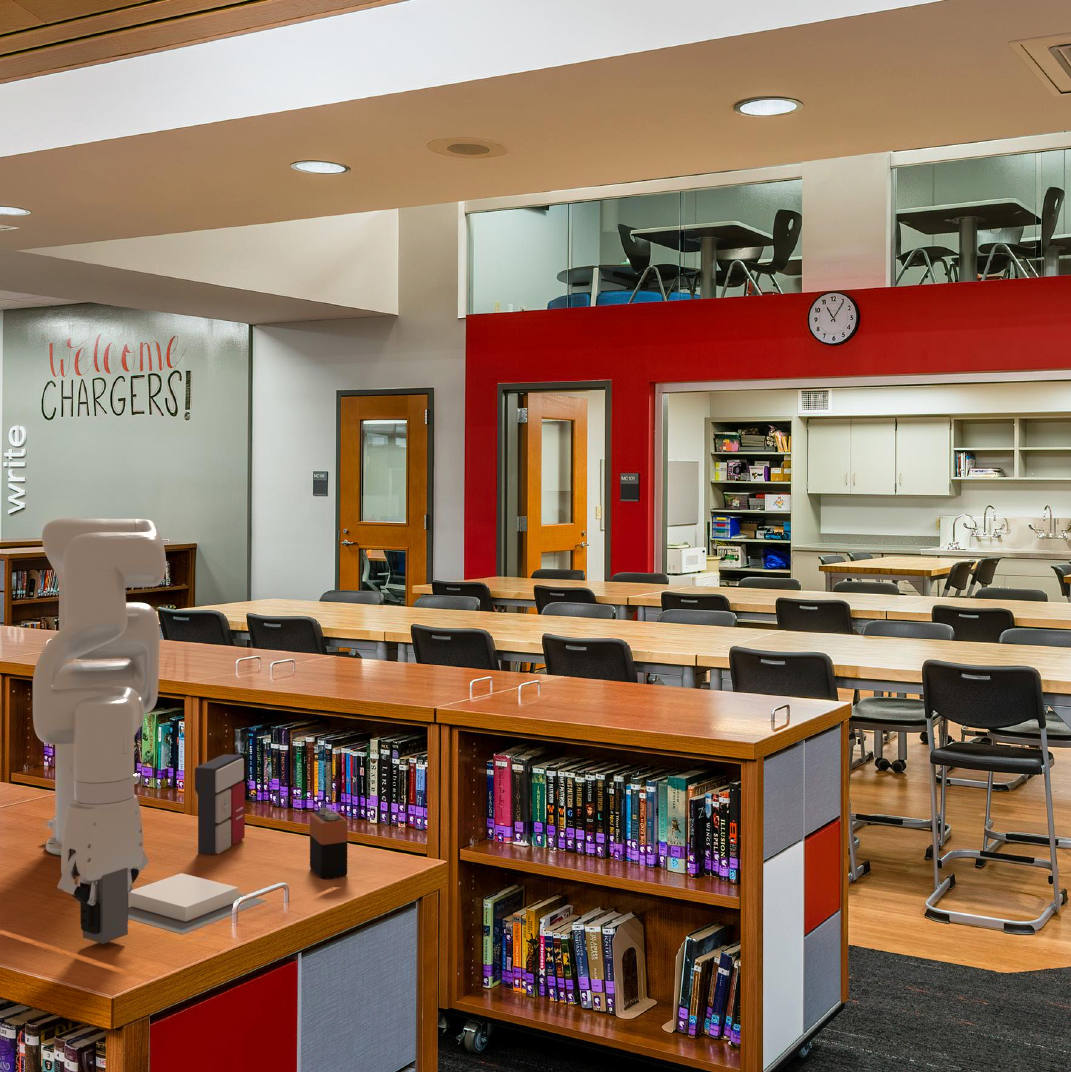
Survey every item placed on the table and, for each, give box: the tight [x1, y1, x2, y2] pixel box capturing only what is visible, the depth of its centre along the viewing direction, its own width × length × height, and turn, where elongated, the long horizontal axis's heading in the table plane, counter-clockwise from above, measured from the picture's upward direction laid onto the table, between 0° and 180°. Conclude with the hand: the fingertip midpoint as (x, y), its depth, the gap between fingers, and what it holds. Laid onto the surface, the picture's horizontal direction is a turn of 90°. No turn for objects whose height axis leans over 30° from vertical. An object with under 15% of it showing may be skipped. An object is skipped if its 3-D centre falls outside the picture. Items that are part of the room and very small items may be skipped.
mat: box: [128, 892, 267, 935], centre depth 173 cm, size 20×16×1 cm
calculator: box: [194, 753, 246, 856], centre depth 202 cm, size 11×4×15 cm, turn 168°
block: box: [82, 868, 129, 945], centre depth 157 cm, size 4×4×9 cm
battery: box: [309, 807, 349, 880], centre depth 189 cm, size 4×7×10 cm, turn 28°
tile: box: [128, 872, 239, 922], centre depth 172 cm, size 2×10×12 cm
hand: (104, 925), depth 157 cm, fingers closed on block, 3 cm apart
